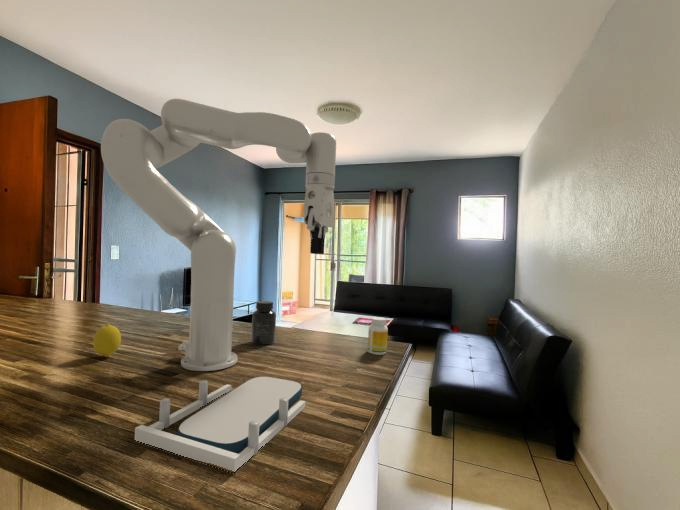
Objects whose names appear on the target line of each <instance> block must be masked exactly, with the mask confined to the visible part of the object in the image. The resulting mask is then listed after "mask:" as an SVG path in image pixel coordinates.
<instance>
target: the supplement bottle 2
mask: <svg viewBox="0 0 680 510" xmlns="http://www.w3.org/2000/svg"><path fill="white" fill-rule="evenodd" d="M386 324H387V319H386V318H385V317H380V316H374V317H371V324H370V325H369V326H368V335H367V337H368V339H367V352H368V353H369V354H372V355H378V356H381V355H386V354H387V350H388V335H389V334H388V333H389V329H388V326H387V325H386Z"/></svg>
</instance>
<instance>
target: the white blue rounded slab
mask: <svg viewBox="0 0 680 510" xmlns="http://www.w3.org/2000/svg"><path fill="white" fill-rule="evenodd" d="M302 394H303V386H302V384H301V383H300V382H297V381H293V380H289V379H283V378H277V377H271V376H258V377H257V376H256V377H253V378H251V379H249V380H246V381H245V382H243V383H242V384H240V385H239V386H237V387H236V388H234V389H231V391H229V392H227V393H226V394H224V395H222V396H220V397H219V398H217V399H215V400H214V401H212V402H210V403H209V405H208V404H207V405H206V406H204V407H203V408H202V409H201V410H199V411H196V413H194V414H192V415H191V416H189V417H188V418H186V419H185V420H184V421H182V422H181V423H180V425H179V426H178V428H177V431H176V435H177V436H181V437H184V438H187V439H190V440H194V441H197V442H200V443H204V444H207V445H210V446H214V447H217V448H220V449H224V450H227V451H230V452H233V453H237V454H239V453H241V452H242V451H243V450H244V449H245V448H246V447H248V431H249V422H251V421H259V436H260V435H261V434H263V433H264V432H265V431H266V430H267V429H268V428H269V427H271V426H272V425H273V424H274V423H275V422H276V421H277V420H279V400H280V399H281V398H288V410H290V409H291V408H292V407H293V406H294V405H295V403H296V402H298V400H300V398H301V397H302ZM238 452H239V453H238Z"/></svg>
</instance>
